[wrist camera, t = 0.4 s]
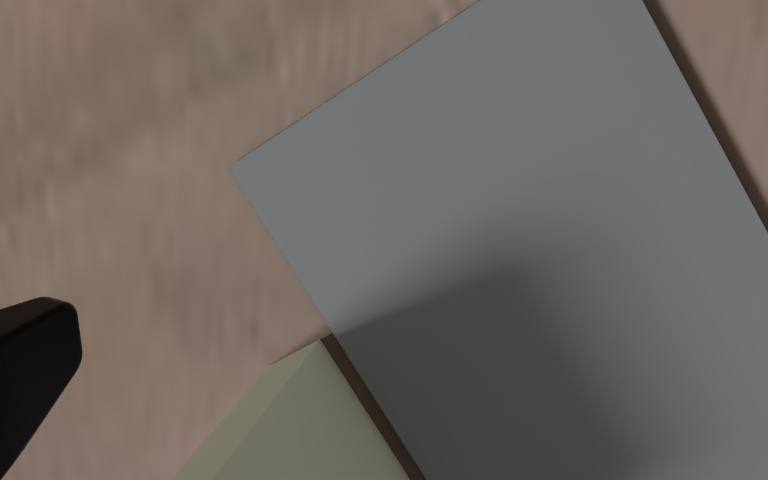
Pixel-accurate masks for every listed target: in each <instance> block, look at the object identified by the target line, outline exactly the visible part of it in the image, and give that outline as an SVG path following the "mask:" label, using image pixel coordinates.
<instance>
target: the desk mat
mask: <svg viewBox="0 0 768 480" xmlns="http://www.w3.org/2000/svg"><path fill="white" fill-rule="evenodd" d="M228 170H229V171H230V173H231V175H232V176H233V178H234V179H235V181H236V182H237V184H238V186H239V187H240V189H241V190H242V192H243V193H244V195H245V197H246V198H247V200H248V201H249V203H250V204H251V206H252V208H253V209H254V211H255V212H256V214H257V215H258V217H259V218H260V220H261V222H262V223H263V225H264V226H265V228H266V229H267V231H268V233H269V234H270V236H271V237H272V239H273V240H274V242H275V244H276V245H277V247H278V248H279V250H280V251H281V253H282V255H283V256H284V258H285V259H286V261H287V262H288V264H289V265H290V267H291V269H292V270H293V272H294V273H295V275H296V276H297V278H298V280H299V281H300V283H301V284H302V286H303V287H304V289H305V291H306V292H307V294H308V295H309V297H310V298H311V300H312V302H313V303H314V305H315V306H316V308H317V309H318V311H319V312H320V314H321V316H322V317H323V319H324V320H325V322H326V323H327V325H328V327H329V328H330V330H331V331H332V333H333V334H334V336H335V338H336V339H337V341H338V342H339V344H340V345H341V347H342V349H343V350H344V352H345V353H346V355H347V356H348V358H349V359H350V361H351V363H352V364H353V366H354V367H355V369H356V370H357V372H358V374H359V375H360V377H361V378H362V380H363V381H364V383H365V385H366V386H367V388H368V389H369V391H370V392H371V394H372V395H373V397H374V399H375V400H376V402H377V403H378V405H379V406H380V408H381V410H382V411H383V413H384V414H385V416H386V417H387V419H388V421H389V422H390V424H391V425H392V427H393V428H394V430H395V432H396V433H397V435H398V436H399V438H400V439H401V441H402V442H403V444H404V446H405V447H406V449H407V450H408V452H409V453H410V455H411V457H412V458H413V460H414V461H415V463H416V464H417V466H418V468H419V469H420V471H421V472H422V474H423V475H424V477H425V479H426V480H768V232H767V231H766V229H765V227H764V225H763V223H762V221H761V219H760V218H759V216H758V214H757V212H756V210H755V208H754V207H753V205H752V203H751V201H750V199H749V197H748V195H747V194H746V192H745V190H744V188H743V186H742V184H741V182H740V181H739V179H738V177H737V175H736V173H735V171H734V169H733V168H732V166H731V164H730V162H729V160H728V158H727V156H726V155H725V153H724V151H723V149H722V147H721V145H720V143H719V142H718V140H717V138H716V136H715V134H714V132H713V130H712V129H711V127H710V125H709V123H708V121H707V119H706V118H705V116H704V114H703V112H702V110H701V108H700V106H699V105H698V103H697V101H696V99H695V97H694V95H693V93H692V92H691V90H690V88H689V86H688V84H687V82H686V80H685V79H684V77H683V75H682V73H681V71H680V69H679V67H678V66H677V64H676V62H675V60H674V58H673V56H672V54H671V53H670V51H669V49H668V47H667V45H666V43H665V42H664V40H663V38H662V36H661V34H660V32H659V30H658V29H657V27H656V25H655V23H654V21H653V19H652V17H651V16H650V14H649V12H648V10H647V8H646V6H645V4H644V3H643V1H642V0H480V1H478V2H477V3H475V4H474V5H472V6H471V7H469V8H468V9H466V10H465V11H463V12H462V13H460V14H459V15H457V16H456V17H454V18H453V19H451V20H450V21H448V22H447V23H445V24H444V25H442V26H441V27H439V28H438V29H436V30H435V31H433V32H432V33H430V34H429V35H427V36H426V37H424V38H423V39H421V40H419V41H418V42H416V43H415V44H413V45H412V46H410V47H409V48H407V49H406V50H404V51H403V52H401V53H400V54H398V55H397V56H395V57H394V58H392V59H391V60H389V61H388V62H386V63H385V64H383V65H382V66H380V67H379V68H377V69H376V70H374V71H373V72H371V73H370V74H368V75H367V76H365V77H364V78H362V79H361V80H359V81H358V82H356V83H355V84H353V85H352V86H350V87H349V88H347V89H346V90H344V91H343V92H341V93H340V94H338V95H337V96H335V97H334V98H332V99H331V100H329V101H328V102H326V103H325V104H323V105H322V106H320V107H319V108H317V109H316V110H314V111H313V112H311V113H310V114H308V115H307V116H305V117H304V118H302V119H301V120H299V121H298V122H296V123H295V124H293V125H292V126H290V127H289V128H287V129H286V130H284V131H283V132H281V133H280V134H278V135H276V136H275V137H273V138H272V139H270V140H269V141H267V142H266V143H264V144H263V145H261V146H260V147H258V148H257V149H255V150H254V151H252V152H251V153H249V154H248V155H246V156H245V157H243V158H242V159H240V160H239V161H237V162H236V163H234V164H233V165H231V166H230V167H228Z"/></svg>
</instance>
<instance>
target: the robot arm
mask: <svg viewBox="0 0 768 480" xmlns="http://www.w3.org/2000/svg"><path fill="white" fill-rule="evenodd" d="M81 359H82V344H81V337H80V330H79V322H78V315H77V311H76V309H75V307H74V306H73V305H72V304H70V303H69V302H65V301H62V300H58V299H54V298H50V297H39V298H36V299H32V300H29V301H26V302H23V303H19V304H16V305H13V306H10V307H6V308H3V309H0V480H1V479H2V478H3V476H4V475H5V474H6V473H7V471H8V470H9V469H10V468H11V466H12V465H13V464H14V462H15V461H16V459H17V458H18V457H19V455H20V454H21V452H22V451H23V450H24V448H25V447H26V445H27V444H28V442H29V441H30V439H31V438H32V436H33V435H34V434H35V432H36V431H37V429H38V428H39V426H40V425H41V423H42V422H43V420H44V419H45V417H46V416H47V414H48V413H49V411H50V410H51V408H52V407H53V405H54V404H55V402H56V401H57V399H58V398H59V396H60V395H61V394H62V392H63V391H64V389H65V388H66V386H67V385H68V383H69V382H70V380H71V379H72V377H73V376H74V374H75V373H76V371H77V369H78V367H79V365H80V363H81Z"/></svg>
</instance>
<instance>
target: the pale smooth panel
mask: <svg viewBox="0 0 768 480" xmlns="http://www.w3.org/2000/svg"><path fill="white" fill-rule="evenodd" d="M171 480H410V479H409V477H408V475H407V474H406V472H405V471H404V469H403V468H402V466H401V464H400V463H399V461H398V460H397V458H396V457H395V455H394V454H393V452H392V450H391V449H390V447H389V446H388V444H387V443H386V441H385V440H384V438H383V436H382V435H381V433H380V432H379V430H378V429H377V427H376V426H375V424H374V422H373V421H372V419H371V418H370V416H369V415H368V413H367V412H366V410H365V408H364V407H363V405H362V404H361V402H360V401H359V399H358V397H357V396H356V394H355V393H354V391H353V390H352V388H351V387H350V385H349V383H348V382H347V380H346V379H345V377H344V376H343V374H342V373H341V371H340V369H339V368H338V366H337V365H336V363H335V362H334V360H333V359H332V357H331V355H330V354H329V352H328V351H327V349H326V348H325V346H324V344H323V343H322V341H321V340H320V339H319V340H317V341H315V342H313V343H311V344H309V345H308V346H306V347H304V348H302V349H300V350H298V351H296V352H294V353H292V354H290V355H289V356H287V357H285V358H283V359H281V360H279V361H277V362H275V363H273V364H271V365H270V366H269V367H268V368H267V369H266V370H265V372H264V373H263V374H262V375H261V376H260V377H259V379H258V380H257V381H256V382H255V383H254V384H253V386H252V387H251V388H250V389H249V390H248V391H247V393H246V394H245V395H244V396H243V397H242V398H241V399H240V401H239V402H238V403H237V404H236V405H235V406H234V408H233V409H232V410H231V411H230V412H229V413H228V415H227V416H226V417H225V418H224V419H223V420H222V421H221V423H220V424H219V425H218V426H217V427H216V428H215V430H214V431H213V432H212V433H211V434H210V435H209V437H208V438H207V439H206V440H205V441H204V442H203V444H202V445H201V446H200V447H199V448H198V449H197V450H196V452H195V453H194V454H193V455H192V456H191V457H190V459H189V460H188V461H187V462H186V463H185V464H184V466H183V467H182V468H181V469H180V470H179V471H178V472H177V474H176V475H175V476H174V477H173V478H172V479H171Z"/></svg>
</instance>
